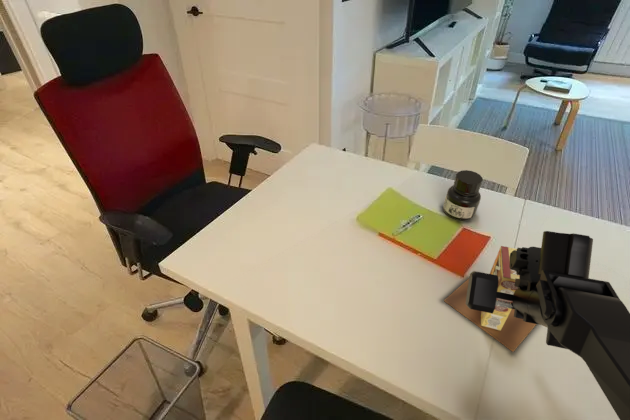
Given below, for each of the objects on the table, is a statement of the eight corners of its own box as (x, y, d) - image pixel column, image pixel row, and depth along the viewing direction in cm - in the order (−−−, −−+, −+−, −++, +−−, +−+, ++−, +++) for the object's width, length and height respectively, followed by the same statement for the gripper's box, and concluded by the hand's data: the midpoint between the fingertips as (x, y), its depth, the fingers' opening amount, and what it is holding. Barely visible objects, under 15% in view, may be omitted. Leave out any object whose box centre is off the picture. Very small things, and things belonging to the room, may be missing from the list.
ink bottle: (435, 211, 107) (444, 176, 100) (450, 198, 112) (459, 164, 105) (467, 226, 102) (480, 191, 95) (481, 211, 107) (494, 177, 100)
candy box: (501, 331, 76) (528, 282, 66) (479, 326, 77) (502, 276, 68) (499, 298, 83) (523, 249, 73) (479, 293, 84) (500, 244, 74)
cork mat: (536, 323, 78) (537, 322, 78) (512, 352, 73) (513, 350, 73) (469, 278, 88) (469, 277, 87) (443, 301, 83) (444, 299, 82)
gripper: (629, 262, 52) (573, 262, 67) (487, 238, 55) (465, 243, 71) (621, 344, 51) (566, 324, 66) (476, 313, 54) (456, 302, 70)
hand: (512, 296), depth 68 cm, fingers open, 9 cm apart
